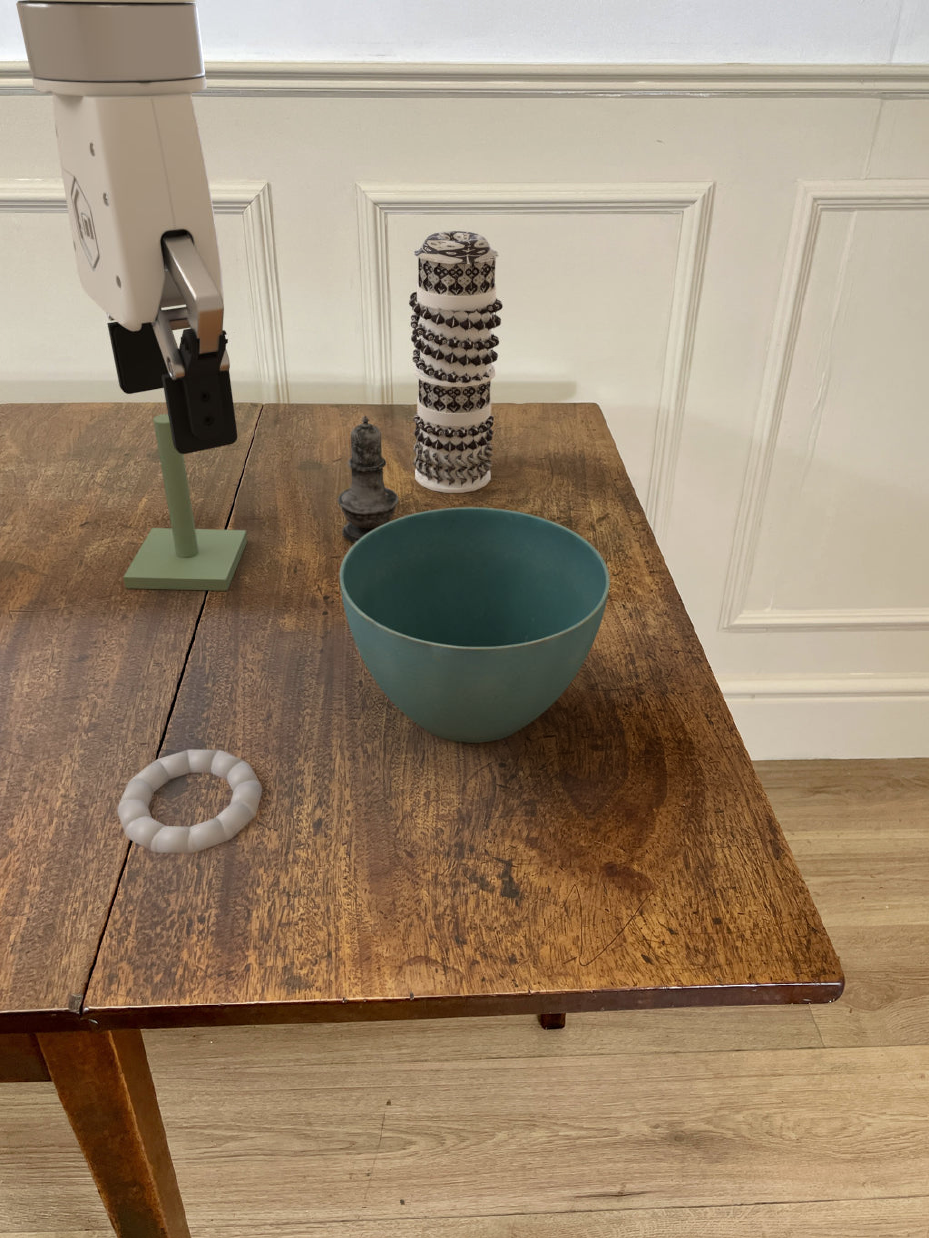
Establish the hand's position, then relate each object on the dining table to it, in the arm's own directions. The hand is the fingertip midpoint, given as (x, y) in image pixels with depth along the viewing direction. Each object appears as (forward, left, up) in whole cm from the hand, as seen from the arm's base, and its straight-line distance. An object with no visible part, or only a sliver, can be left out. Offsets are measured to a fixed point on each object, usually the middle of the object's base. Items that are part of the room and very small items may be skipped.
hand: (176, 416), depth 52 cm
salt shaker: (+7, +33, -25) cm, 42 cm away
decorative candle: (+15, +46, -25) cm, 54 cm away
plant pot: (+17, +6, -25) cm, 31 cm away
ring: (-1, -5, -24) cm, 25 cm away
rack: (-9, +26, -25) cm, 37 cm away
